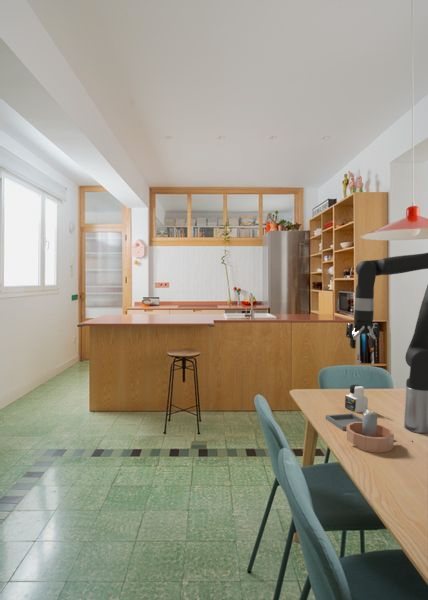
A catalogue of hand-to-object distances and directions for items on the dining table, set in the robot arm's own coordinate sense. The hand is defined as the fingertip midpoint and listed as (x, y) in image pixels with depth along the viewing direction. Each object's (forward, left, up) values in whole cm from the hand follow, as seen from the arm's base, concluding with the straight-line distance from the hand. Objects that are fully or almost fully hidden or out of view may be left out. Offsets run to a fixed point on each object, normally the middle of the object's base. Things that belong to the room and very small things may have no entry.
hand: (362, 348), depth 166 cm
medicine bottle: (-8, -14, -32) cm, 36 cm away
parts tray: (+6, +1, -32) cm, 33 cm away
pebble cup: (+8, +18, -31) cm, 37 cm away
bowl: (+8, +18, -32) cm, 38 cm away
